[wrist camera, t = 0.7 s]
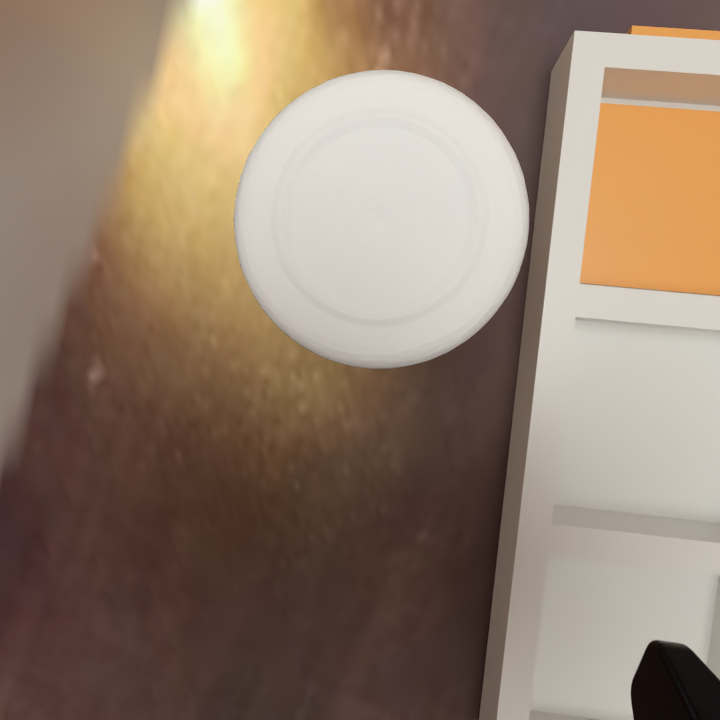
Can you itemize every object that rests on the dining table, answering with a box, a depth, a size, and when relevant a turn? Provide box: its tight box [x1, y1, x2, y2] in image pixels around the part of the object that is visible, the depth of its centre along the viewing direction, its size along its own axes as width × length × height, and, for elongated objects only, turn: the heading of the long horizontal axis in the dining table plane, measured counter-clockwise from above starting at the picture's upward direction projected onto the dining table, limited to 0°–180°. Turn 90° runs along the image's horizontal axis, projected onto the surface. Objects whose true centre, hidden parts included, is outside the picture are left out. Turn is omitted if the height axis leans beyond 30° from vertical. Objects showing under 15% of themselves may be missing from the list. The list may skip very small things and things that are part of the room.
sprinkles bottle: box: [234, 70, 529, 369], centre depth 16 cm, size 5×5×13 cm
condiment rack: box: [479, 26, 720, 720], centre depth 21 cm, size 24×8×3 cm, turn 175°
